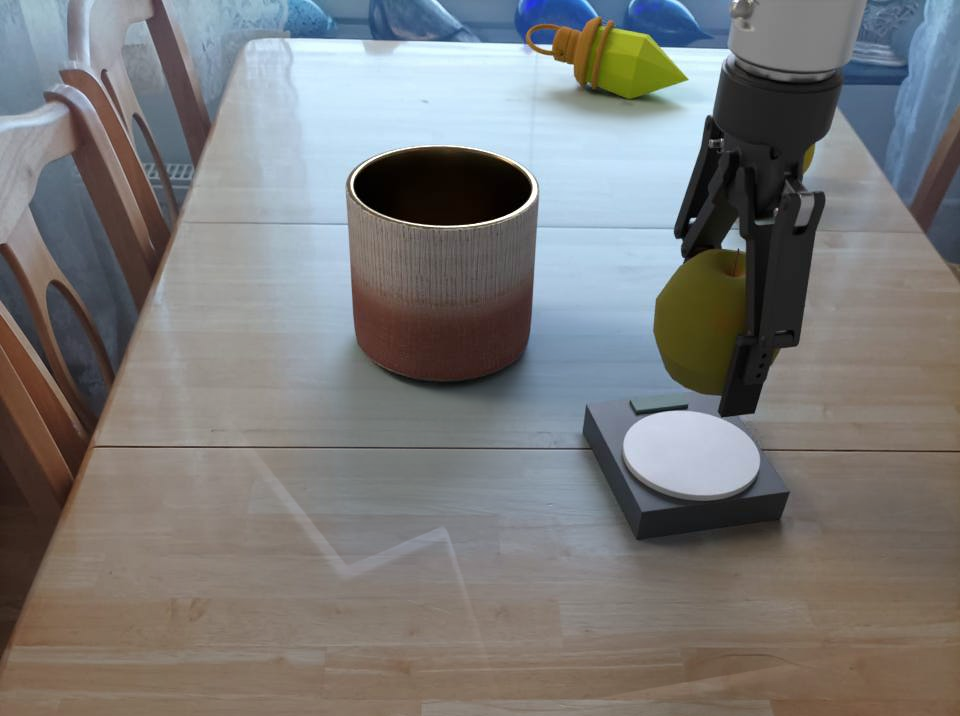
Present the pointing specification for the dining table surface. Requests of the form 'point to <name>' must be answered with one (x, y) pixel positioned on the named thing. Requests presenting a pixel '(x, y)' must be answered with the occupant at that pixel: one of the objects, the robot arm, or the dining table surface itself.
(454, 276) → the planter
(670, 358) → the apple
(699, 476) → the scale
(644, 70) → the plumb bob
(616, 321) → the dining table surface
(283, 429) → the dining table surface
